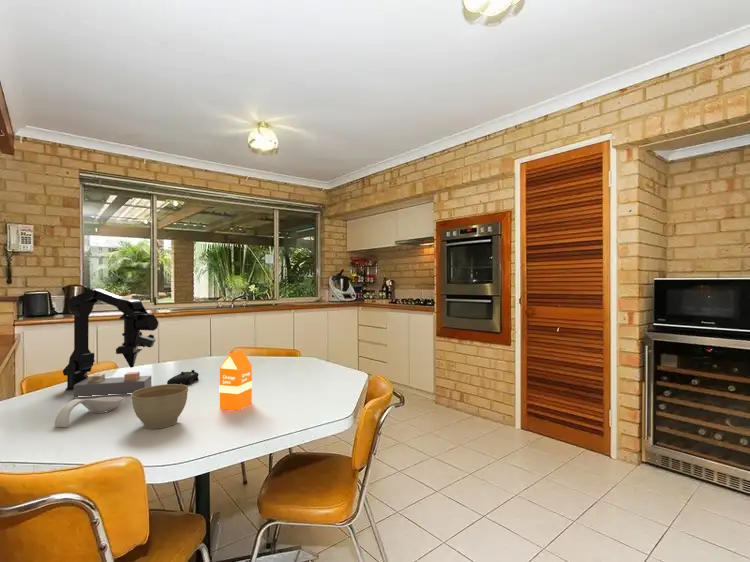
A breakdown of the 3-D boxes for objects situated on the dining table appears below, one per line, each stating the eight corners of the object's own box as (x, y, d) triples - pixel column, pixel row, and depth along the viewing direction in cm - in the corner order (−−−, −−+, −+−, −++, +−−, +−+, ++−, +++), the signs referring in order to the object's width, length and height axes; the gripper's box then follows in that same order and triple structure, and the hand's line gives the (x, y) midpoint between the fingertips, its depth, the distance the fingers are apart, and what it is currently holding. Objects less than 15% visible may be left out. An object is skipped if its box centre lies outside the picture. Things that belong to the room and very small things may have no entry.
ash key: (87, 386, 161) (87, 376, 161) (92, 383, 165) (92, 374, 165) (100, 385, 162) (100, 376, 162) (104, 383, 166) (104, 373, 166)
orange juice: (252, 403, 149) (252, 350, 149) (238, 410, 141) (238, 354, 141) (234, 401, 151) (234, 349, 152) (219, 409, 143) (219, 353, 143)
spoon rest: (101, 405, 149) (101, 385, 149) (131, 405, 148) (131, 386, 148) (43, 428, 125) (43, 405, 125) (78, 429, 124) (78, 406, 124)
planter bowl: (174, 412, 139) (174, 381, 139) (197, 422, 129) (197, 389, 129) (122, 425, 127) (123, 391, 127) (143, 437, 117) (143, 400, 117)
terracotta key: (124, 384, 164) (124, 374, 164) (127, 381, 168) (128, 372, 168) (136, 383, 165) (136, 374, 165) (139, 381, 169) (139, 371, 169)
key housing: (73, 397, 157) (73, 385, 157) (84, 391, 167) (84, 379, 167) (144, 393, 163) (144, 381, 163) (151, 387, 173) (151, 375, 173)
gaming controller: (180, 369, 189) (201, 365, 188) (182, 382, 189) (203, 378, 188) (164, 376, 175) (186, 372, 174) (166, 390, 174) (188, 386, 174)
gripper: (146, 332, 160) (146, 371, 160) (159, 327, 178) (159, 362, 178) (115, 333, 157) (115, 372, 157) (131, 327, 175) (131, 363, 175)
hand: (131, 367), depth 167 cm, fingers closed
